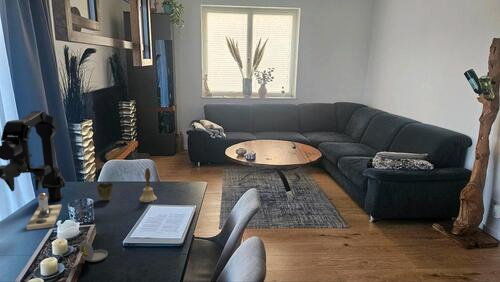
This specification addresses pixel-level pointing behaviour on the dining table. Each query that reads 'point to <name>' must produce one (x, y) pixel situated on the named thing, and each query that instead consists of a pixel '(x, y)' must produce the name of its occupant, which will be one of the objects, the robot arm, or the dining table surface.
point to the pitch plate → (44, 218)
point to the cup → (105, 190)
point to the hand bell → (147, 189)
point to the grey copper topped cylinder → (43, 206)
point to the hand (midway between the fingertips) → (25, 191)
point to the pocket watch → (91, 252)
